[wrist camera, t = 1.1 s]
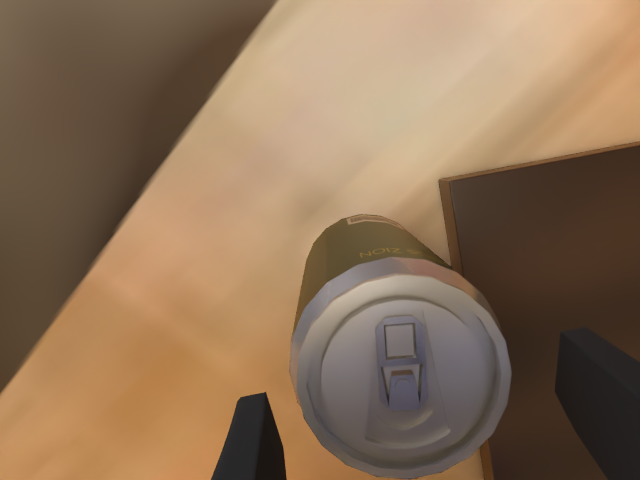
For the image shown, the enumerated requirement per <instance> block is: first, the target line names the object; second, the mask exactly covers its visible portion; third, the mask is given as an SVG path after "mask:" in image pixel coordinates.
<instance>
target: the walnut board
mask: <svg viewBox="0 0 640 480" xmlns="http://www.w3.org/2000/svg"><path fill="white" fill-rule="evenodd" d="M439 186H440V193H441V199H442V206H443V212H444V219H445V225H446V232H447V238H448V245H449V251H450V258H451V264H452V268H453V269H454V270H455V271H456V272H457V273H459V274H460V275H461V276H462V277H463V278H464V279H466V280H467V281H468V282H469V283H470V284H471V285H473V286H474V287H475V288H476V289H477V290H478V291H480V292H481V293H482V294H483V295H484V297H485V298H486V300H487V302H488V304H489V305H490V307H491V309H492V310H493V312H494V314H495V316H496V317H497V319H498V321H499V322H500V326H501V331H502V336H503V337H504V339H505V341H506V346H507V351H508V356H509V361H510V366H511V371H512V375H511V382H510V389H509V397H508V404H507V406H506V408H505V410H504V412H503V414H502V416H501V418H500V420H499V422H498V424H497V426H496V428H495V430H494V432H493V434H492V435H491V436H490V437H489V438H488V439H487V440H486V441H485V442H484V443H483V444H482V445H481V446H480V453H481V459H482V466H483V472H484V479H485V480H608V479H607V478H606V476H605V475H604V473H603V472H602V470H601V469H600V467H599V466H598V465H597V463H596V462H595V460H594V459H593V457H592V456H591V454H590V453H589V451H588V450H587V448H586V447H585V445H584V444H583V442H582V441H581V439H580V438H579V436H578V435H577V433H576V432H575V430H574V428H573V426H572V425H571V423H570V421H569V419H568V417H567V415H566V413H565V411H564V409H563V407H562V405H561V403H560V401H559V399H558V397H557V395H556V393H555V381H556V371H557V362H558V352H559V342H560V332H563V331H567V330H572V329H577V328H582V327H586V328H588V329H590V330H591V331H593V332H594V333H596V334H597V335H599V336H601V337H602V338H604V339H605V340H607V341H608V342H610V343H611V344H613V345H614V346H616V347H617V348H619V349H620V350H622V351H624V352H625V353H627V354H628V355H630V356H631V357H633V358H634V359H636V360H637V361H639V362H640V142H634V143H629V144H624V145H618V146H613V147H608V148H603V149H597V150H592V151H587V152H581V153H576V154H571V155H565V156H560V157H555V158H550V159H544V160H539V161H534V162H528V163H523V164H518V165H512V166H507V167H502V168H497V169H491V170H486V171H481V172H475V173H470V174H465V175H459V176H454V177H449V178H444V179H439Z"/></svg>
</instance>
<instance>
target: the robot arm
mask: <svg viewBox="0 0 640 480" xmlns="http://www.w3.org/2000/svg"><path fill="white" fill-rule="evenodd" d="M555 393H556V395H557V397H558V399H559V401H560V403H561V405H562V407H563V409H564V411H565V413H566V415H567V417H568V419H569V421H570V423H571V425H572V426H573V428H574V430H575V432H576V433H577V435H578V436H579V438H580V439H581V441H582V442H583V444H584V445H585V447H586V448H587V450H588V451H589V453H590V454H591V456H592V457H593V459H594V460H595V462H596V463H597V465H598V466H599V467H600V469H601V470H602V472H603V473H604V475H605V476H606V478H607V479H608V480H640V362H639V361H637V360H636V359H634V358H633V357H631V356H630V355H628V354H627V353H625V352H624V351H622V350H620V349H619V348H617V347H616V346H614V345H613V344H611V343H610V342H608V341H607V340H605V339H604V338H602V337H601V336H599V335H597V334H596V333H594V332H593V331H591V330H590V329H588V328H586V327H582V328H577V329H572V330H567V331H563V332H560V342H559V352H558V362H557V371H556V381H555ZM211 480H286V470H285V460H284V451H283V445H282V442H281V439H280V436H279V432H278V429H277V426H276V423H275V420H274V417H273V413H272V410H271V407H270V404H269V401H268V398H267V394H266V392H264V393H259V394H255V395H250V396H245V397H241V398H240V399H239V400H238V401H237V405H236V409H235V412H234V416H233V419H232V423H231V426H230V429H229V432H228V435H227V438H226V441H225V444H224V447H223V450H222V452H221V455H220V458H219V460H218V463H217V465H216V468H215V471H214V473H213V476H212V478H211Z"/></svg>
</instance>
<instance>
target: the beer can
mask: <svg viewBox="0 0 640 480" xmlns="http://www.w3.org/2000/svg"><path fill="white" fill-rule="evenodd" d="M289 372H290V376H291V380H292V384H293V388H294V391H295V395H296V399H297V402H298V404H299V406H300V407H301V409H302V412H303V416H304V419H305V421H306V422H307V424H308V425H309V427H310V428H311V430H312V431H313V433H314V434H315V436H316V437H317V439H318V441H319V442H320V444H321V445H322V446H323V447H324V448H326V449H327V450H328V451H329V452H331V453H332V454H333V455H334V456H336V457H337V458H338V459H340V460H341V461H342V462H343V463H345V464H346V465H347V466H350V467H353V468H355V469H358V470H360V471H363V472H366V473H368V474H371V475H373V476H376V477H385V478H399V479H413V478H418V477H423V476H427V475H432V474H436V473H441V472H443V471H445V470H447V469H449V468H451V467H452V466H454V465H456V464H458V463H460V462H461V461H463V460H465V459H467V458H469V457H470V456H471V455H472V454H473V453H474V452H475V451H476V450H477V449H478V448H479V447H480V446H481V445H482V444H483V443H484V442H485V441H486V440H487V439H488V438H489V437H490V436H491V435H492V434H493V432H494V430H495V428H496V426H497V424H498V422H499V420H500V418H501V416H502V414H503V412H504V410H505V408H506V406H507V404H508V397H509V389H510V382H511V375H512V371H511V366H510V361H509V356H508V351H507V346H506V341H505V339H504V337H503V336H502V331H501V326H500V322H499V321H498V319H497V317H496V316H495V314H494V312H493V310H492V309H491V307H490V305H489V304H488V302H487V300H486V298H485V297H484V295H483V294H482V293H481V292H480V291H478V290H477V289H476V288H475V287H474V286H473V285H471V284H470V283H469V282H468V281H467V280H466V279H464V278H463V277H462V276H461V275H460V274H459V273H457V272H456V271H455V270H454V269H453V268H451V267H450V266H449V265H448V264H447V263H445V262H444V261H443V260H442V259H440V258H439V257H438V256H437V255H436V254H434V253H433V252H432V251H431V250H430V249H428V248H427V247H426V246H425V245H424V244H422V243H421V242H420V241H419V240H417V239H416V238H415V237H414V236H413V235H411V234H410V233H409V232H408V231H407V230H405V229H404V228H403V227H402V226H400V225H399V224H398V223H396V222H394V221H391V220H389V219H386V218H384V217H382V216H375V215H362V214H360V215H356V216H352V217H348V218H344V219H341V220H339V221H338V222H336V223H335V224H333V225H331V226H330V227H328V228H326V229H325V230H324V232H323V233H322V234H321V235H320V236H319V237H318V239H317V240H316V241H315V242H314V243H313V246H312V248H311V250H310V253H309V255H308V258H307V260H306V265H305V270H304V275H303V281H302V286H301V291H300V297H299V302H298V307H297V312H296V318H295V323H294V328H293V334H292V339H291V353H290V367H289Z"/></svg>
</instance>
